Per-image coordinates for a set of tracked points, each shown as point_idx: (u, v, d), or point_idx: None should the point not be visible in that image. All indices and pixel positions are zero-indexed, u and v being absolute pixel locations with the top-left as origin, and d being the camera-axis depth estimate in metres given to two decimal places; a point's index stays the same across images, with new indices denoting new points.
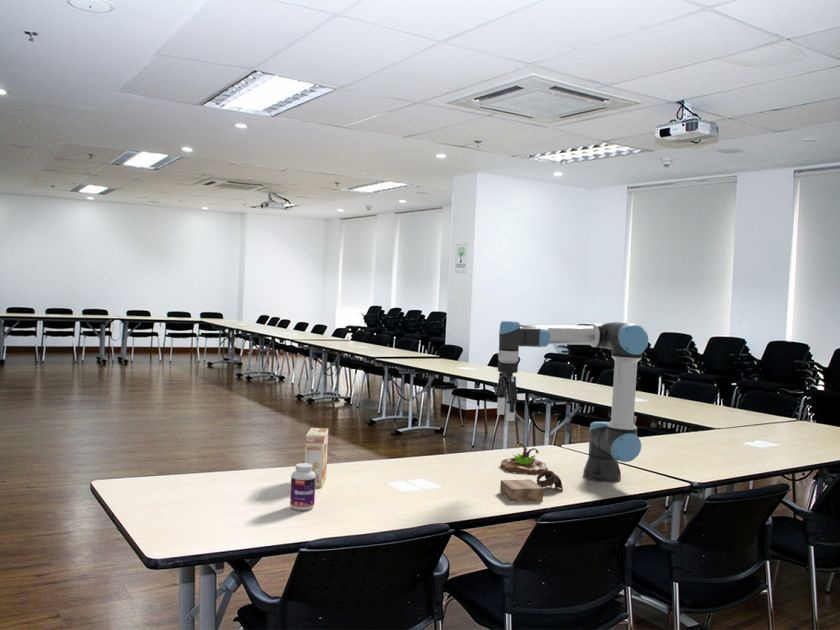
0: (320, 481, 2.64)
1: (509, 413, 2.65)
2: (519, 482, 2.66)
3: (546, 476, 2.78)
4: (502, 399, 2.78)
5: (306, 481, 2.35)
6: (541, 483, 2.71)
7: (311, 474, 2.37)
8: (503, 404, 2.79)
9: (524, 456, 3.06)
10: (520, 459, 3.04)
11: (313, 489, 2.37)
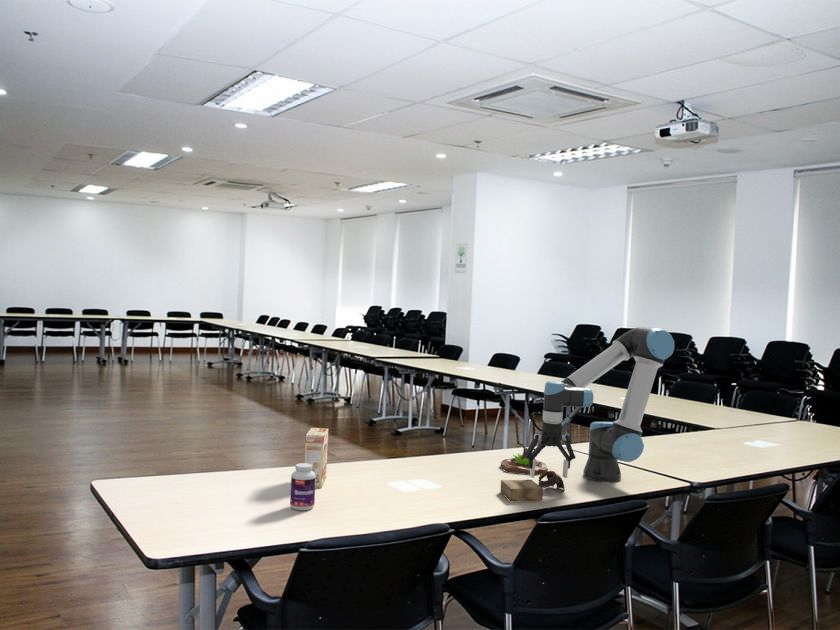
0: (320, 481, 2.64)
1: (530, 469, 2.74)
2: (519, 482, 2.66)
3: (548, 476, 2.78)
4: (565, 462, 2.76)
5: (306, 481, 2.35)
6: (543, 483, 2.71)
7: (311, 474, 2.37)
8: (565, 467, 2.76)
9: None
10: (520, 459, 3.03)
11: (313, 489, 2.37)
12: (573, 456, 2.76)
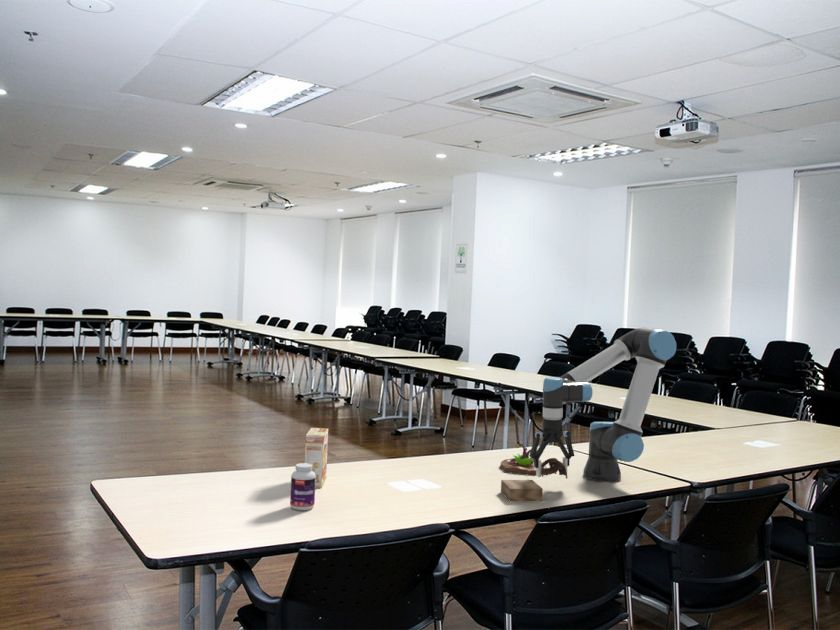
0: (320, 481, 2.64)
1: (536, 468, 2.75)
2: (519, 482, 2.66)
3: (550, 463, 2.77)
4: (564, 459, 2.76)
5: (306, 481, 2.35)
6: (545, 471, 2.70)
7: (311, 474, 2.37)
8: (565, 465, 2.76)
9: (524, 456, 3.05)
10: (519, 459, 3.03)
11: (313, 489, 2.37)
12: (572, 453, 2.76)
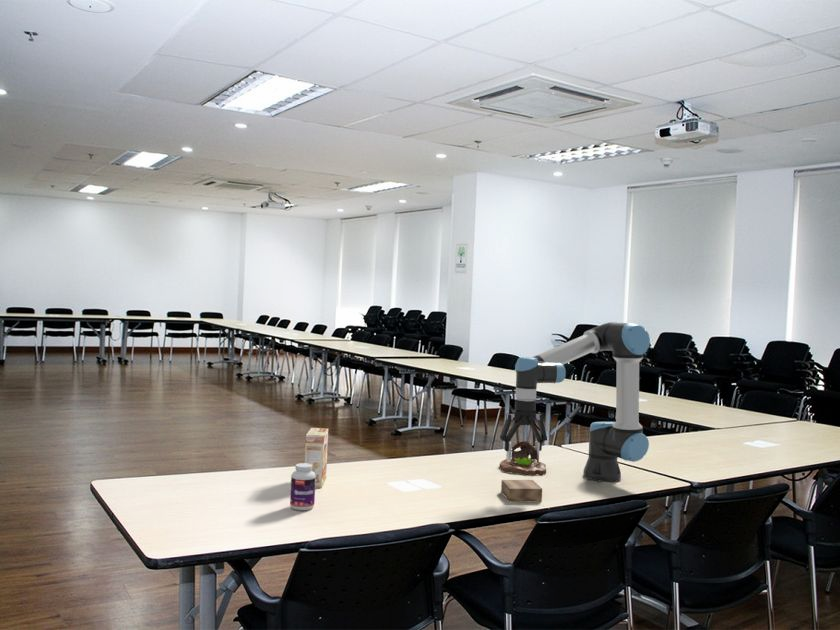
0: (320, 481, 2.64)
1: (507, 451, 2.62)
2: (520, 482, 2.66)
3: (521, 447, 2.65)
4: (536, 443, 2.64)
5: (306, 481, 2.35)
6: (516, 454, 2.58)
7: (311, 474, 2.37)
8: (537, 449, 2.63)
9: (523, 457, 3.04)
10: (518, 459, 3.02)
11: (313, 489, 2.37)
12: (545, 437, 2.63)
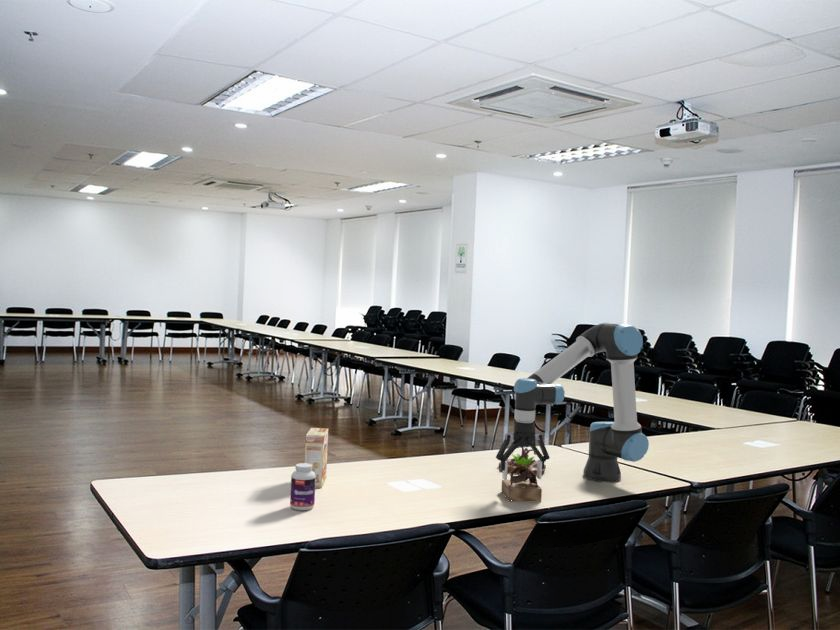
0: (320, 481, 2.64)
1: (503, 470, 2.62)
2: (520, 482, 2.66)
3: (520, 471, 2.65)
4: (539, 462, 2.64)
5: (306, 481, 2.35)
6: (515, 478, 2.58)
7: (311, 474, 2.37)
8: (539, 468, 2.64)
9: (522, 457, 3.04)
10: (517, 459, 3.02)
11: (313, 489, 2.37)
12: (547, 456, 2.64)
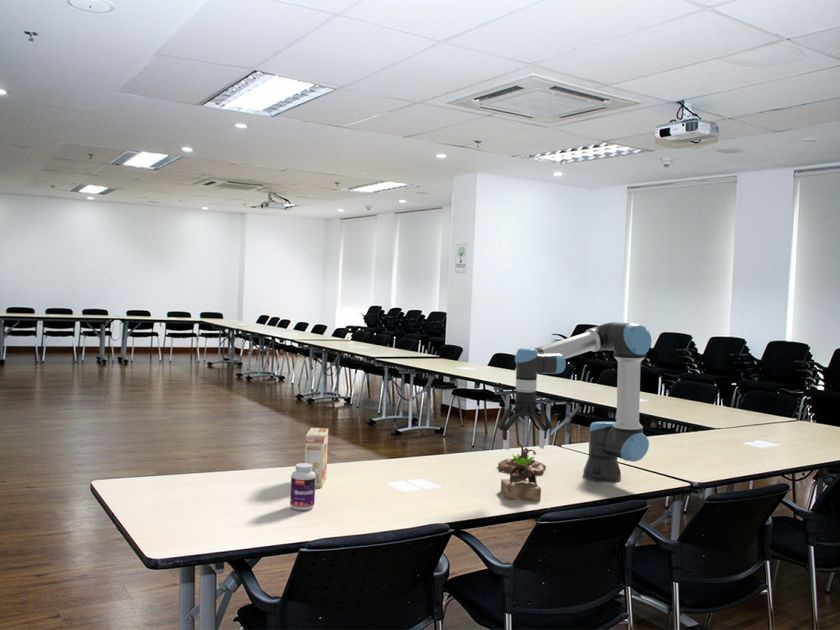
0: (320, 481, 2.64)
1: (505, 440, 2.62)
2: (519, 482, 2.67)
3: (519, 470, 2.66)
4: (541, 432, 2.64)
5: (306, 481, 2.35)
6: (514, 478, 2.59)
7: (311, 474, 2.37)
8: (541, 437, 2.64)
9: (521, 457, 3.04)
10: (516, 459, 3.02)
11: (313, 489, 2.37)
12: (549, 425, 2.64)
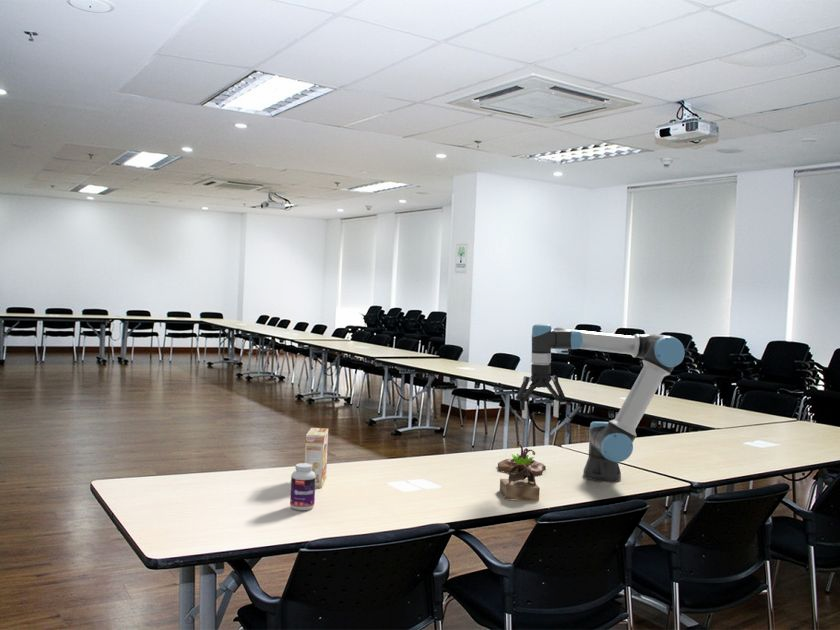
0: (320, 481, 2.64)
1: (522, 410, 2.81)
2: (518, 481, 2.67)
3: (519, 470, 2.67)
4: (555, 402, 2.84)
5: (306, 481, 2.35)
6: (513, 477, 2.60)
7: (311, 474, 2.37)
8: (556, 407, 2.83)
9: (521, 457, 3.04)
10: (515, 459, 3.02)
11: (313, 489, 2.37)
12: (563, 396, 2.83)
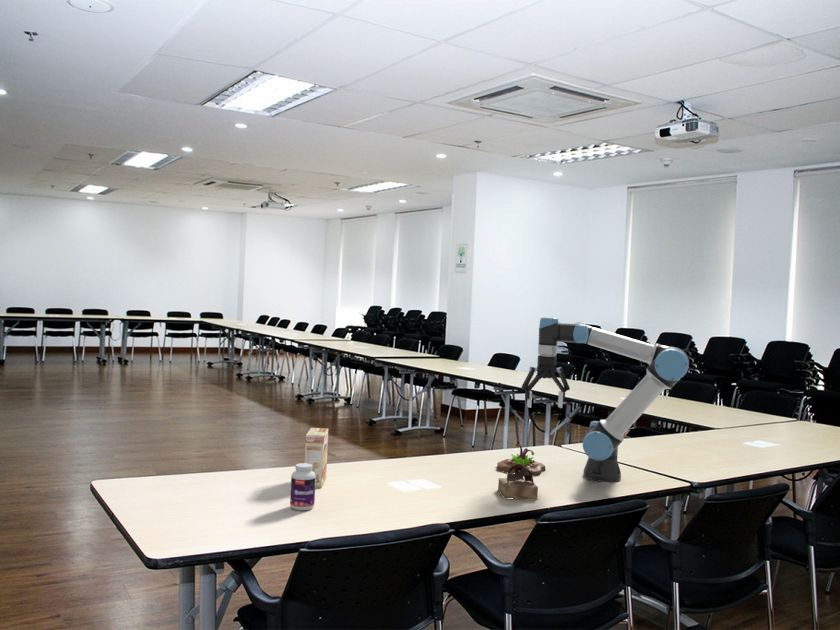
0: (320, 481, 2.64)
1: (527, 400, 2.91)
2: None
3: (516, 469, 2.68)
4: (560, 393, 2.93)
5: (306, 481, 2.35)
6: (512, 477, 2.61)
7: (311, 474, 2.37)
8: (560, 398, 2.93)
9: (520, 457, 3.04)
10: (514, 459, 3.03)
11: (313, 489, 2.37)
12: (567, 387, 2.93)
